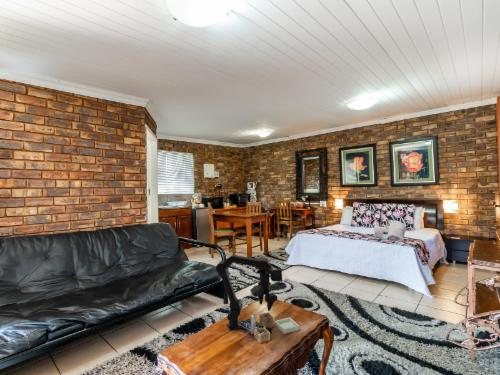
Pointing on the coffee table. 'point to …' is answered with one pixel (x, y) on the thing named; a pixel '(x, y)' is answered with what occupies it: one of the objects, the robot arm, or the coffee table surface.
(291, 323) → the tray
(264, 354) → the coffee table surface
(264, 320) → the walnut block
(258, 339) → the beige square frame
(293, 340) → the coffee table surface
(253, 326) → the cylinder
